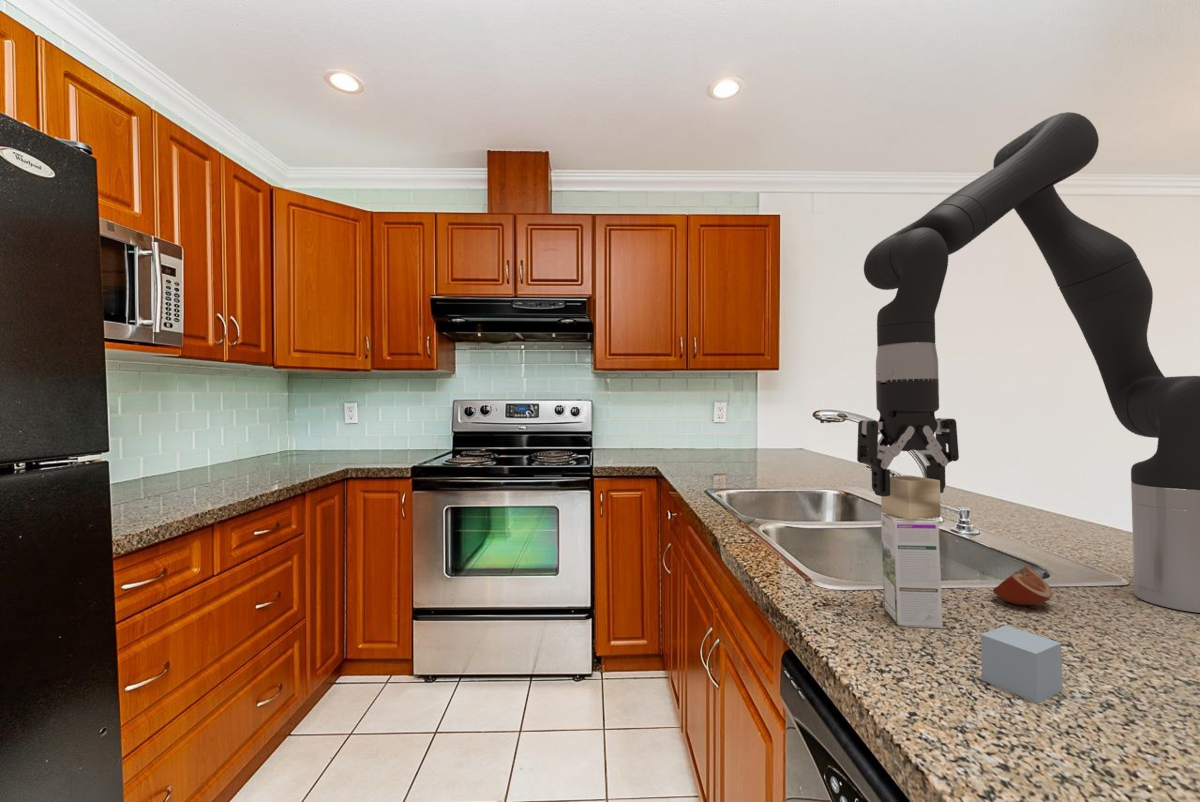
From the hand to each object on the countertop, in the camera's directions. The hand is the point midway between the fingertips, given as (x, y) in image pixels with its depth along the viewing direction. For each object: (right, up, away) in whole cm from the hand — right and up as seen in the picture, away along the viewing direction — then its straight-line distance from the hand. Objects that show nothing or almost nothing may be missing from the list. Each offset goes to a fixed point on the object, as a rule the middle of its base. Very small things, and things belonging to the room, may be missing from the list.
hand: (908, 494), depth 72 cm
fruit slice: (+20, -17, +5) cm, 27 cm away
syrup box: (0, -18, 0) cm, 18 cm away
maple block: (0, -3, 0) cm, 3 cm away
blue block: (+2, -17, -17) cm, 24 cm away
